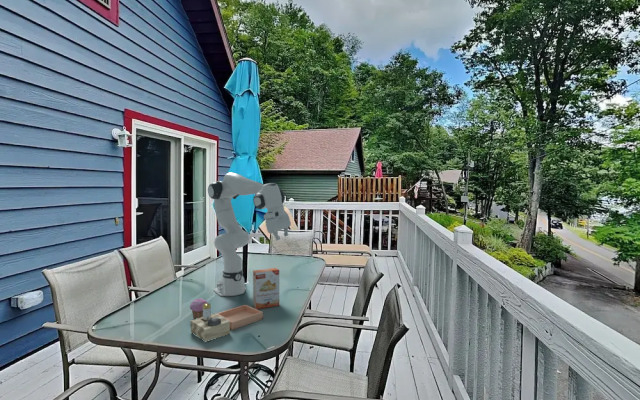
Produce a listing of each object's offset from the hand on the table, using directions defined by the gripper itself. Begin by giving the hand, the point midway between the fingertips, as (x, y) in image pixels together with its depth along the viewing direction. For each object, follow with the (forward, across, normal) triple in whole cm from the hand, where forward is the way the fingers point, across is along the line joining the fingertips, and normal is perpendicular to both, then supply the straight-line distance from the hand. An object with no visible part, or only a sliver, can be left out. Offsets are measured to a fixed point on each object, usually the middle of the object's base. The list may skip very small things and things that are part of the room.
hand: (282, 237), depth 177 cm
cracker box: (+38, -2, -21) cm, 43 cm away
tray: (+35, +19, -24) cm, 47 cm away
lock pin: (+33, +36, -30) cm, 57 cm away
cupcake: (+31, +24, -45) cm, 59 cm away
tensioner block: (+33, +37, -28) cm, 57 cm away
